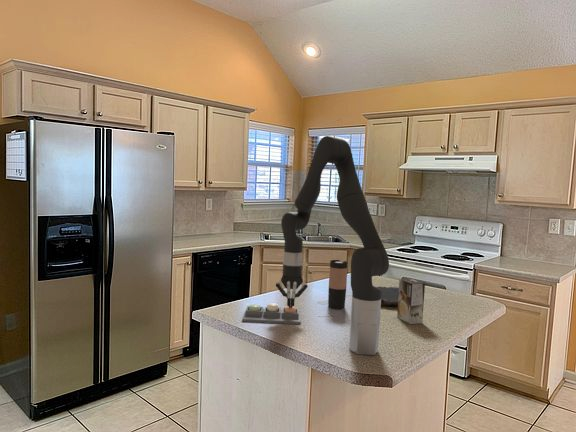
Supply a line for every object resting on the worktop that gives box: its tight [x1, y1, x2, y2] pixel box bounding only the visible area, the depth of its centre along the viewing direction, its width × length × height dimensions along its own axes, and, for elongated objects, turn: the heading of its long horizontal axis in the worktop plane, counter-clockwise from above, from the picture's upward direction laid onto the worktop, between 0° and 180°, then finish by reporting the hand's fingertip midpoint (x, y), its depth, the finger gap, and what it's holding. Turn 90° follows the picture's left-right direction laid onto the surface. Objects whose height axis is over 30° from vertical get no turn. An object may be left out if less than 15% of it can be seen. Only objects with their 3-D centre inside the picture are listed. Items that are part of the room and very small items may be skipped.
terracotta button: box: [284, 305, 297, 313], centre depth 168 cm, size 4×4×2 cm
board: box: [376, 286, 399, 307], centre depth 200 cm, size 22×22×5 cm
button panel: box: [241, 305, 302, 325], centre depth 168 cm, size 14×22×3 cm, turn 89°
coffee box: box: [396, 278, 426, 325], centre depth 172 cm, size 9×6×16 cm
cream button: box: [266, 302, 279, 312], centre depth 168 cm, size 4×4×2 cm
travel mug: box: [327, 259, 349, 310], centre depth 186 cm, size 8×8×20 cm
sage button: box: [249, 304, 261, 311], centre depth 168 cm, size 4×4×2 cm
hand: (290, 307), depth 168 cm, fingers closed
